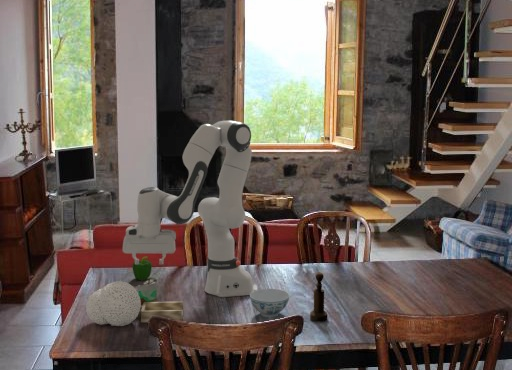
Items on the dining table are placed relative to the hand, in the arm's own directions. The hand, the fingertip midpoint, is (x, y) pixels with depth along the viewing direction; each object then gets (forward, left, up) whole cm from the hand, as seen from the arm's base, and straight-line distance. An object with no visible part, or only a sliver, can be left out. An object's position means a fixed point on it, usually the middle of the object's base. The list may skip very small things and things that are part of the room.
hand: (149, 264), depth 269 cm
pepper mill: (-64, +18, -17) cm, 69 cm away
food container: (0, 0, -17) cm, 17 cm away
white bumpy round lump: (+11, +19, -17) cm, 28 cm away
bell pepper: (+7, -36, -17) cm, 41 cm away
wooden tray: (-6, +13, -17) cm, 22 cm away
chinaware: (-46, +12, -17) cm, 51 cm away
